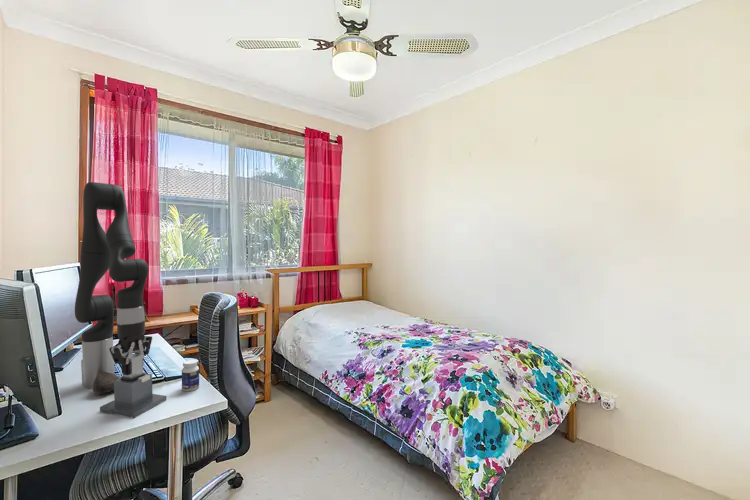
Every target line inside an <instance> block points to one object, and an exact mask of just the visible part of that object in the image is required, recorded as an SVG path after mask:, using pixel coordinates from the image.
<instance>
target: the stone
mask: <svg viewBox="0 0 750 500" xmlns="http://www.w3.org/2000/svg"><path fill="white" fill-rule="evenodd" d="M119 378H121V376H118V375H116V374H115V373H114V374H112V373H109V372H102V373H100V374H99V375H97V377H96V378H95V380H94V384H93V388H92V392H93V393H94V395H96V396H102V395H105V394H108V393H110V392H111V393H112V392H114V380H117V379H119Z"/></svg>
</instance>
